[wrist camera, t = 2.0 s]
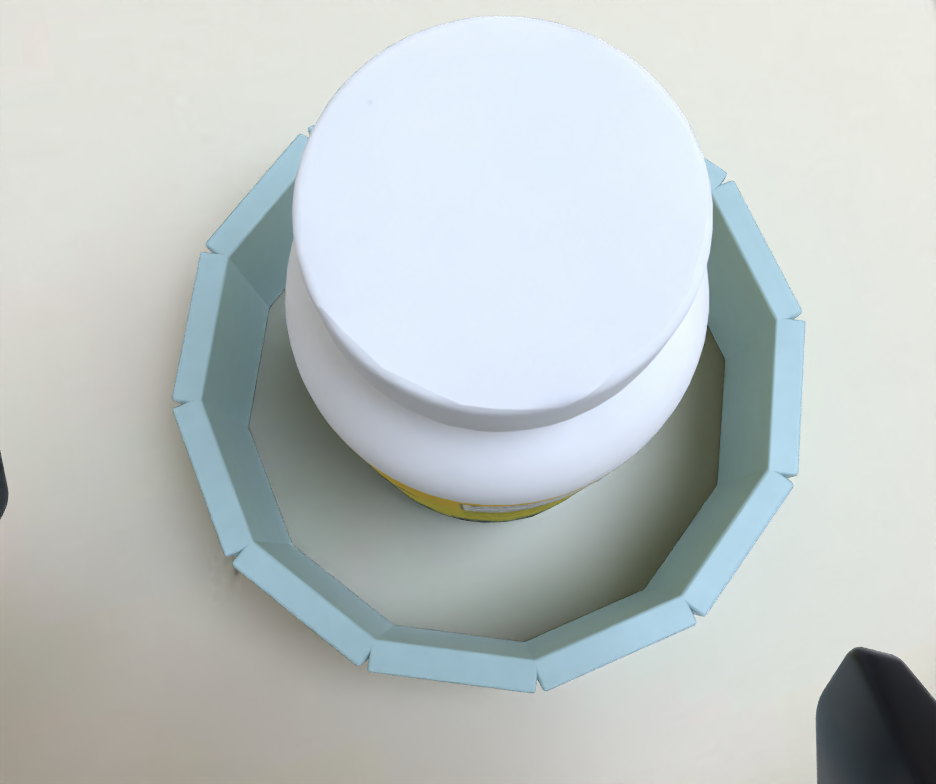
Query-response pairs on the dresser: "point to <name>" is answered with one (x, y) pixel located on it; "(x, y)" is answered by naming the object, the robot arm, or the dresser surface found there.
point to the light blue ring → (460, 655)
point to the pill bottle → (499, 263)
